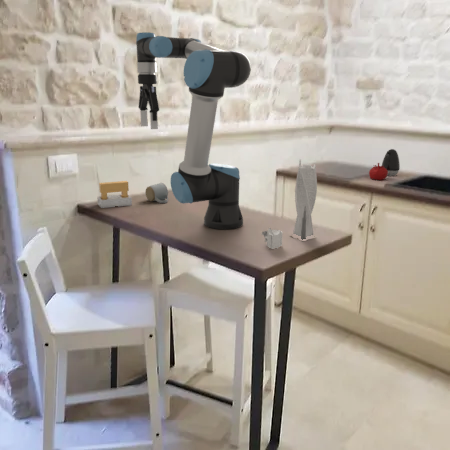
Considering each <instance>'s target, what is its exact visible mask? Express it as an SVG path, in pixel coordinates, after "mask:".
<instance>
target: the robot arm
mask: <svg viewBox="0 0 450 450" xmlns="http://www.w3.org/2000/svg"><path fill="white" fill-rule="evenodd" d="M135 40H136V42H135V44H136V58H137V59H136V60H137V63H136V68H137V73H138V75H137V83H138V84H139V85H140V86H139V99H138V109H139V111H140V127H148V126H149V124H148V110H149V117H150V118H149V119H150V130H158V129H159V123H158V112H159V111H160V107H159V106H160V105H159V100H158V95H157V94H158V93H157V87H156V86H153V85H156V84H158V78H157V77H158V76H157V74H156V73H157V68H158V65H157V59H158V58H159V59H184V60H185V62H184V66H183V77H184V78H183V80H184V83H185V85H186V86H187V87H188V92H189V93H190V94H191V106H190V113H189V119H188V126H187V127H188V128H187V136H186V141H185V148H184V149H185V151H184V158H183V161H182V162H180V163H179V165H178V171H174V172H173V173H171V175H170V187H171V191H172V194H173V196H174V198H175V199H176V200H177V201H178V202H179V203H180V204H192V203H199V202H206V201H207V202H208V206H207V207H206V208H207V209H206V212H205V215H204V218H203V225H204V226H205V227H207V228H211V229H215V230H234V229H238V228H240V227H242V226H243V225H244V218H243V214H242V211H241V208H240V180H241V177H240V176H241V175H240V169H239V168H238V167H237V166H234V165H230V164H223V163H209V160H210V159H209V158H210V152H211V145H212V139H213V134H214V127H215V121H216V114H217V108H218V102H219V100H220V99H221V98H223V97H224V95H225V90H226V88H228V89H229V88H231V89H232V88H238V87H239V86H242V85H243V84H244V83H246V82H247V80H249V77H250V76H251V72H252V71H251V70H252V66H251V62H250V60H249V58H248V57H247V56H246V54H244V53H242V52H240V51H236V50H223V49H221V48H220V49H219V48H218V47H214V46H211V45H208V44H205V43H202V41H201V40H200V39H198V38H194V37H190V38H189V37H188V38H187V37H172V36H171V37H170V36H164V35H157V36H156V34H155V33H154V32H145V31H143V32H138V33H137V34H136V39H135ZM148 105H149V109H148Z"/></svg>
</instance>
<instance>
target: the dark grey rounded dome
mask: <svg viewBox="0 0 450 450" xmlns="http://www.w3.org/2000/svg"><path fill="white" fill-rule="evenodd" d="M381 166H384V168H386V169H387V171H388V174H387V177H388V176H389V177H393V176H396V175H397V174H398V173H399V171H400V168H401V167H400V158H399V154H398V151H397V150H396V149H394V148H390V149H388V150H387V151H386V153H385V155H384V156H383V160H382V163H381Z"/></svg>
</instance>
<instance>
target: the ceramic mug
mask: <svg viewBox="0 0 450 450" xmlns="http://www.w3.org/2000/svg"><path fill="white" fill-rule="evenodd" d="M145 196H146V198H147V200H148V201H149V202H157V203H160V204H167V203H168V202H169V191H168V187H167V185H166V184H165V183H163V182H160V183H156V184H151V185H148V186H147V187H146V189H145Z"/></svg>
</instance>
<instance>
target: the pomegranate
mask: <svg viewBox="0 0 450 450" xmlns="http://www.w3.org/2000/svg"><path fill="white" fill-rule="evenodd" d="M368 172H369V173H368V174H369V178H370V179H371V180H375V181H376V180H377V181H383V180H385V179H386V178H387V177H388V176H387V174H388V171H387V169H386V168H384V166H382V165H380V162H377V164H373V167H371V168H370V169H369V171H368Z"/></svg>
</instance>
